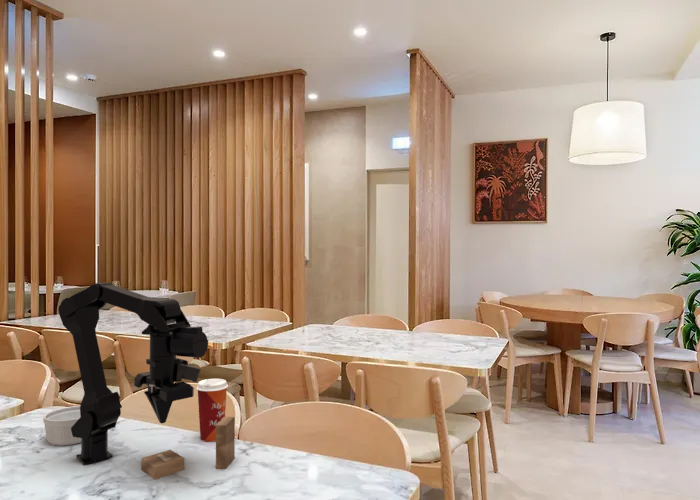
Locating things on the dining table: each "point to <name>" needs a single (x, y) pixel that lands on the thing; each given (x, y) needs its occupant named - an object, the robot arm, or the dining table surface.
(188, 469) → the dining table surface
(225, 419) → the wooden block
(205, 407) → the coffee cup
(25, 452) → the dining table surface
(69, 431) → the ramekin
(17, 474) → the dining table surface
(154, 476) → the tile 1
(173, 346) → the robot arm
